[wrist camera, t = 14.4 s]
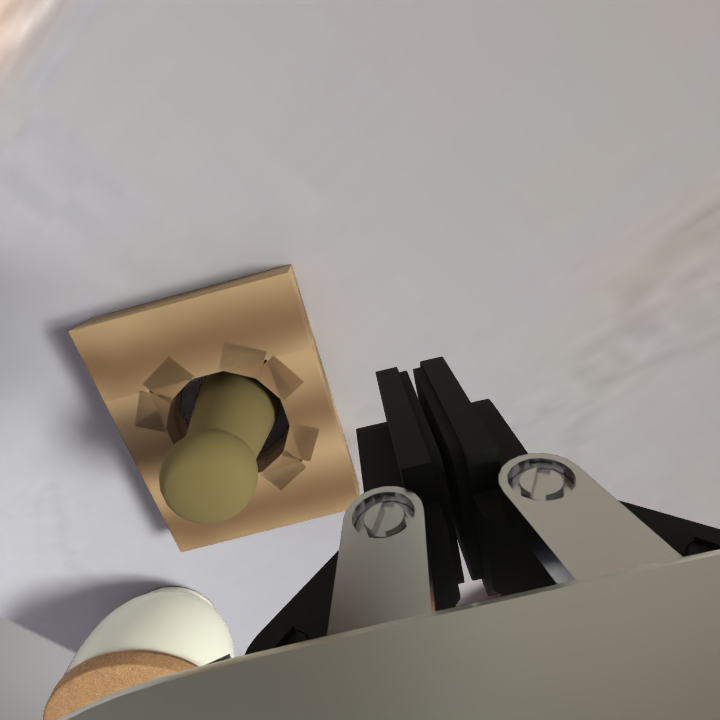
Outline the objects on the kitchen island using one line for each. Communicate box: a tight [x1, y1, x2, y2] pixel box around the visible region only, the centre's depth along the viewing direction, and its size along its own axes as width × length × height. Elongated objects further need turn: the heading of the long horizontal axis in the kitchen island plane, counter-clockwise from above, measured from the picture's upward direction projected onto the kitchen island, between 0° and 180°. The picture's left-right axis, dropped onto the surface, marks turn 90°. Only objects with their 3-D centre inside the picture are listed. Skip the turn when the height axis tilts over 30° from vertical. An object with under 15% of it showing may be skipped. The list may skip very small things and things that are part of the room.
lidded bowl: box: [43, 587, 235, 720], centre depth 36 cm, size 13×13×11 cm
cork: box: [159, 371, 280, 524], centre depth 29 cm, size 6×6×11 cm
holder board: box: [68, 265, 360, 552], centre depth 33 cm, size 18×14×3 cm
